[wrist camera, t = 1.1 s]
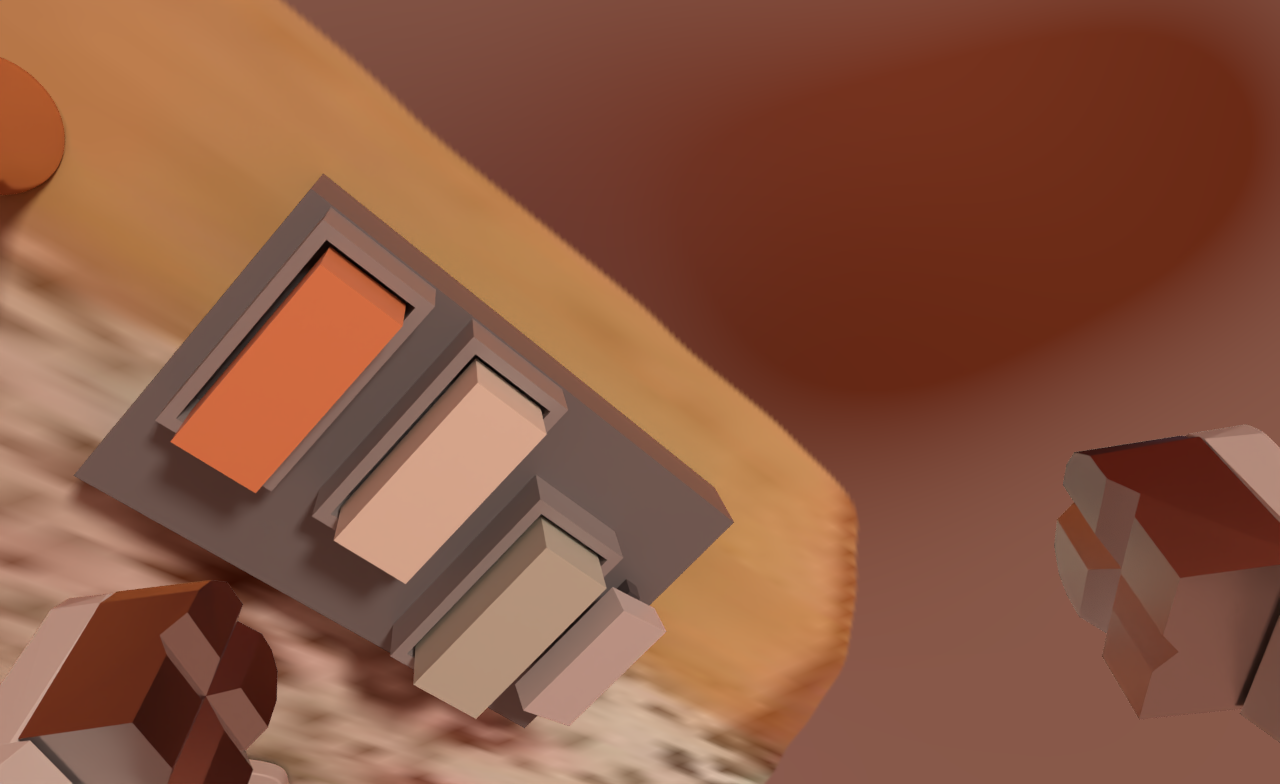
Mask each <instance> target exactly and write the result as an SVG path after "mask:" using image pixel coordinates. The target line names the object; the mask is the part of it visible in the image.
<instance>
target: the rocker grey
mask: <svg viewBox="0 0 1280 784" xmlns="http://www.w3.org/2000/svg"><path fill="white" fill-rule="evenodd" d="M665 632H666V630H665V628H664V626H663V624H662V622H661V620H660V618H659V616H658V614H657V613H656V611H655V609H654V608H653V607H651V606H649V605H647V604H645V603H643V602H641V601H639V600H637V599H635V598H633V597H631V596H629V595H627V594H625V593H623V592H622V591H620V590H618V589H616V588H614V587H612V588H611V589H610V590H609V591H608V592H607V593H606V594H605V595H604V596H603V597H602V598H601V599H600V600H599V601H598V602H597V603H596V604H595V605H594V606H593V607H592V608H591V609H590V610H589V611H588V612H587V613H586V614H585V615H584V616H583V617H582V618H581V619H580V620H579V621H578V622H577V623H576V624H575V625H574V626H573V627H572V628H571V629H570V630H569V631H568V632H567V633H566V634H565V635H564V636H563V637H562V638H561V639H560V640H559V641H558V642H557V643H556V644H555V645H554V646H553V647H552V648H551V649H550V650H549V651H548V652H547V653H546V654H545V655H544V656H543V657H542V658H541V659H540V660H539V661H538V662H537V663H536V664H535V665H534V666H533V667H532V668H531V669H530V670H529V671H528V672H527V673H526V674H525V675H524V676H523V677H522V678H521V679H520V680H519V681H518V682H517V683H516V684H515V686H516V689H517V692H518V695H519V699H520V702H521V705H522V708H523V711H526V712H529V713H532V714H535V715H538V716H541V717H544V718H547V719H550V720H553V721H556V722H559V723H562V724H564V725H567V726H570V725H571V724H572V723H573V722H574V721H575V720H576V719H577V718H578V717H579V716H580V715H581V714H582V713H583V712H584V711H585V710H586V709H587V708H588V707H589V706H590V705H591V704H592V703H593V702H594V701H595V700H596V699H597V698H598V697H599V696H601V695H602V694H603V693H604V692H605V691H606V690H607V689H608V688H609V687H610V686H611V685H612V684H613V683H614V682H615V681H616V680H617V679H618V678H619V677H620V676H621V675H622V674H623V673H624V672H625V671H626V670H627V669H628V668H629V667H630V666H631V665H632V664H633V663H634V662H635V661H637V660H638V659H639V658H640V657H641V656H642V655H643V654H644V653H645V652H646V651H647V650H648V649H649V648H650V647H651V646H652V645H653V644H654V643H655V642H656V641H657V640H658V639H659V638H660V637H661V636H662V635H663V634H664V633H665Z"/></svg>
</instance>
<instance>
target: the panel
mask: <svg viewBox="0 0 1280 784" xmlns="http://www.w3.org/2000/svg"><path fill="white" fill-rule="evenodd" d="M329 247H332V248H333V249H334V250H335V251H337V252H338V253H339V254H341V255H342V256H343V257H345V258H346V259H347V260H348V261H350V262H351V263H352V264H354V265H355V266H356V267H358V268H359V269H360V270H362V271H363V272H364V273H365V274H367V275H368V276H369V277H371V278H372V279H373V280H375V281H376V282H377V283H379V284H380V285H381V286H382V287H384V288H385V289H386V290H388V291H389V292H390V293H392V294H393V295H394V296H396V297H397V298H398V299H399V300H401V301H402V302H403V303H405V304H406V308H405V314H404V321H403V326H402V327H401V329H400V330H399V331H398V332H397V333H396V334H395V335H394V337H393V338H392V339H391V340H390V341H389V342H388V343H387V345H386V346H385V347H384V348H383V349H382V350H381V351H380V352H379V354H378V355H377V356H376V357H375V358H374V359H373V360H372V362H371V363H370V364H369V365H368V366H367V367H366V368H365V370H364V371H363V372H362V373H361V374H360V375H359V376H358V377H357V379H356V380H355V381H354V382H353V383H352V384H351V385H350V387H349V388H348V389H347V390H346V391H345V392H344V393H343V395H342V396H341V397H340V398H339V399H338V400H337V401H336V402H335V404H334V405H333V406H332V407H331V408H330V409H329V410H328V412H327V413H326V414H325V415H324V416H323V417H322V418H321V420H320V421H319V422H318V423H317V424H316V425H315V426H314V427H313V429H312V430H311V431H310V432H309V433H308V434H307V435H306V437H305V438H304V439H303V440H302V441H301V442H300V443H299V445H298V446H297V447H296V448H295V449H294V450H293V451H292V452H291V454H290V455H289V456H288V457H287V458H286V459H285V460H284V462H283V463H282V464H281V465H280V466H279V467H278V468H277V470H276V471H275V472H274V473H273V474H272V475H271V476H270V477H269V479H268V480H267V481H266V482H265V483H264V484H263V485H262V487H261V488H260V489H259V490H258V491H257V492H256V493H254V492H252V491H251V490H249V489H248V488H246V487H244V486H243V485H241V484H239V483H238V482H236V481H234V480H233V479H231V478H229V477H228V476H226V475H224V474H223V473H221V472H219V471H218V470H216V469H214V468H213V467H211V466H209V465H208V464H206V463H205V462H203V461H201V460H200V459H198V458H196V457H195V456H193V455H191V454H190V453H188V452H186V451H185V450H183V449H181V448H180V447H178V446H176V445H175V444H173V443H171V440H172V439H173V437H174V435H175V434H176V432H177V431H178V429H179V428H180V426H181V425H182V423H183V422H184V420H185V419H186V417H187V416H188V414H189V413H190V411H191V410H192V409H193V408H194V407H195V406H196V404H197V403H198V402H199V401H200V400H201V398H202V397H203V396H204V395H205V394H206V393H207V391H208V390H209V389H210V388H211V387H212V385H213V384H214V383H215V382H216V381H217V379H218V378H219V377H220V376H221V375H222V374H223V372H224V371H225V370H226V369H227V368H228V366H229V365H230V364H231V363H232V362H233V361H234V359H235V358H236V357H237V356H238V355H239V353H240V352H241V351H242V350H243V349H244V347H245V346H246V345H247V344H248V343H249V342H250V340H251V339H252V338H253V337H254V336H255V334H256V333H257V332H258V331H259V330H260V329H261V327H262V326H263V325H264V324H265V323H266V321H267V320H268V319H269V318H270V317H271V315H272V314H273V313H274V312H275V311H276V310H277V308H278V307H279V306H280V305H281V304H282V302H283V301H284V300H285V299H286V298H287V297H288V295H289V294H290V293H291V292H292V291H293V289H294V288H295V287H296V286H297V285H298V284H299V282H300V281H301V280H302V279H303V278H304V276H305V275H306V274H307V273H308V272H309V270H310V269H311V268H312V267H313V266H314V265H315V263H316V262H317V261H318V260H319V259H320V257H321V256H322V255H323V254H324V253H325V252H326V250H327V249H328V248H329ZM475 359H478V360H479V361H480V362H482V363H483V364H484V365H486V366H487V367H488V368H490V369H491V370H492V371H493V372H495V373H496V374H497V375H499V376H500V377H501V378H503V379H504V380H505V381H507V382H508V383H509V384H510V385H512V386H513V387H514V388H516V389H517V390H518V391H520V392H521V393H522V394H523V395H525V396H526V397H527V398H529V399H530V400H531V401H533V402H534V403H535V404H537V405H538V406H539V407H540V408H541V412H542V416H543V421H544V425H545V429H546V434H547V435H546V436H545V437H544V438H543V439H542V440H541V441H540V442H539V443H538V444H537V445H536V446H535V447H534V448H533V450H532V451H531V452H530V453H529V454H528V455H527V456H526V457H525V458H524V459H523V460H522V461H521V462H520V463H519V464H518V465H517V466H516V468H515V469H514V470H513V471H512V472H511V473H510V474H509V475H508V476H507V477H506V478H505V479H504V480H503V481H502V482H501V483H500V485H499V486H498V487H497V488H496V489H495V490H494V491H493V492H492V493H491V494H490V495H489V496H488V497H487V498H486V499H485V500H484V501H483V503H482V504H481V505H480V506H479V507H478V508H477V509H476V510H475V511H474V512H473V513H472V514H471V515H470V516H469V517H468V518H467V519H466V521H465V522H464V523H463V524H462V525H461V526H460V527H459V528H458V529H457V530H456V531H455V532H454V533H453V534H452V535H451V536H450V538H449V539H448V540H447V541H446V542H445V543H444V544H443V545H442V546H441V547H440V548H439V549H438V550H437V551H436V552H435V553H434V554H433V556H432V557H431V558H430V559H429V560H428V561H427V562H426V563H425V564H424V565H423V566H422V567H421V568H420V569H419V570H418V571H417V572H416V574H415V575H414V576H413V577H412V578H411V579H410V580H409V581H408V582H407V583H406V584H405V583H403V582H401V581H400V580H398V579H396V578H395V577H393V576H391V575H390V574H388V573H386V572H385V571H383V570H382V569H380V568H378V567H377V566H375V565H373V564H372V563H370V562H368V561H367V560H365V559H363V558H362V557H360V556H358V555H357V554H355V553H353V552H352V551H350V550H348V549H347V548H345V547H343V546H342V545H340V544H339V543H337V542H335V541H334V537H335V532H336V528H337V523H338V519H339V515H340V510H341V507H342V505H343V504H344V503H345V502H346V501H347V500H348V499H349V498H350V497H351V495H352V494H353V493H354V492H355V491H356V490H357V489H358V488H359V487H360V486H361V484H362V483H363V482H364V481H365V480H366V479H367V478H368V477H369V476H370V475H371V473H372V472H373V471H374V470H375V469H376V468H377V467H378V466H379V465H380V463H381V462H382V461H383V460H384V459H385V458H386V457H387V456H388V455H389V454H390V452H391V451H392V450H393V449H394V448H395V447H396V446H397V445H398V444H399V443H400V441H401V440H402V439H403V438H404V437H405V436H406V435H407V434H408V433H409V431H410V430H411V429H412V428H413V427H414V426H415V425H416V424H417V423H418V422H419V420H420V419H421V418H422V417H423V416H424V415H425V414H426V413H427V412H428V411H429V409H430V408H431V407H432V406H433V405H434V404H435V403H436V402H437V401H438V399H439V398H440V397H441V396H442V395H443V394H444V393H445V392H446V391H447V390H448V388H449V387H450V386H451V385H452V384H453V383H454V382H455V381H456V380H457V379H458V377H459V376H460V375H461V374H462V373H463V372H464V371H465V370H466V369H467V367H468V366H469V365H470V364H471V363H472V362H473V361H474V360H475ZM74 476H75V477H77V478H79V479H80V480H82V481H84V482H86V483H88V484H89V485H91V486H93V487H95V488H97V489H98V490H100V491H102V492H104V493H105V494H107V495H109V496H111V497H113V498H114V499H116V500H118V501H120V502H122V503H123V504H125V505H127V506H129V507H131V508H132V509H134V510H136V511H138V512H139V513H141V514H143V515H145V516H147V517H148V518H150V519H152V520H154V521H156V522H157V523H159V524H161V525H163V526H164V527H166V528H168V529H170V530H172V531H173V532H175V533H177V534H179V535H181V536H182V537H184V538H186V539H188V540H189V541H191V542H193V543H195V544H197V545H198V546H200V547H202V548H204V549H206V550H207V551H209V552H211V553H213V554H214V555H216V556H218V557H220V558H222V559H223V560H225V561H227V562H229V563H231V564H232V565H234V566H236V567H238V568H239V569H241V570H243V571H245V572H247V573H248V574H250V575H252V576H254V577H256V578H257V579H259V580H261V581H263V582H264V583H266V584H268V585H270V586H272V587H273V588H275V589H277V590H279V591H281V592H282V593H284V594H286V595H288V596H289V597H291V598H293V599H295V600H297V601H298V602H300V603H302V604H304V605H306V606H307V607H309V608H311V609H313V610H315V611H316V612H318V613H320V614H322V615H323V616H325V617H327V618H329V619H331V620H332V621H334V622H336V623H338V624H340V625H341V626H343V627H345V628H347V629H348V630H350V631H352V632H354V633H356V634H357V635H359V636H361V637H363V638H365V639H366V640H368V641H370V642H372V643H373V644H375V645H377V646H379V647H381V648H382V649H384V650H386V651H388V652H390V657H392V658H394V659H396V660H398V661H399V662H401V663H403V664H405V665H407V666H408V667H410V668H412V669H414V663H415V646H416V644H417V643H418V642H419V641H420V640H421V639H422V638H423V637H424V636H425V635H426V634H427V633H428V632H429V631H430V630H431V629H432V628H433V627H434V626H435V625H436V624H437V623H438V621H439V620H440V619H441V618H442V617H443V616H444V615H445V614H446V613H447V612H448V611H449V610H450V609H451V608H452V607H453V606H454V605H455V604H456V603H457V602H458V601H459V600H460V599H461V598H462V597H463V595H464V594H465V593H466V592H467V591H468V590H469V589H470V588H471V587H472V586H473V585H474V584H475V583H476V582H477V581H478V580H479V579H480V578H481V577H482V576H483V575H484V574H485V573H486V572H487V571H488V570H489V568H490V567H491V566H492V565H493V564H494V563H495V562H496V561H497V560H498V559H499V558H500V557H501V556H502V555H503V554H504V553H505V552H506V551H507V550H508V549H509V548H510V547H511V546H512V545H513V544H514V542H515V541H516V540H517V539H518V538H519V537H520V536H521V535H522V534H523V533H524V532H525V531H526V530H527V529H528V528H529V527H530V526H531V525H532V524H533V523H534V522H535V521H536V520H537V519H538V518H539V517H540V515H541V516H543V517H544V518H546V519H547V520H549V521H550V522H551V523H553V524H554V525H556V526H557V527H559V528H560V529H561V530H563V531H564V532H566V533H567V534H569V535H570V536H571V537H573V538H574V539H576V540H577V541H579V542H580V543H581V544H583V545H584V546H586V547H587V548H589V549H590V550H591V551H593V552H594V553H596V554H597V555H598V558H599V562H600V566H601V569H602V573H603V577H604V581H605V584H606V589H605V590H604V591H603V592H602V593H601V594H600V595H599V596H598V597H597V598H596V599H595V600H594V601H593V602H592V603H591V604H590V605H589V606H588V607H587V608H586V609H585V610H584V611H583V612H582V613H581V614H580V615H579V616H578V617H577V618H576V619H575V620H574V621H573V622H572V623H571V624H570V625H569V626H568V627H567V628H566V629H565V630H564V631H563V632H562V633H561V634H560V635H559V636H558V637H557V638H556V639H555V640H554V641H553V642H552V643H551V644H550V645H549V646H548V647H547V648H546V649H545V650H544V652H543V653H542V654H541V655H540V656H539V657H538V658H537V659H536V660H535V661H534V662H533V663H532V664H531V665H530V666H529V667H528V668H527V669H526V670H525V671H524V672H523V673H522V674H521V675H520V676H519V677H518V678H517V679H516V680H515V681H514V682H513V683H512V684H511V685H510V686H509V687H508V688H507V689H506V690H505V691H504V692H503V693H502V694H501V695H500V696H499V697H498V698H497V699H496V700H495V701H494V702H493V703H492V704H491V705H490V706H489V707H488V708H490V709H491V710H493V711H495V712H497V713H499V714H500V715H502V716H504V717H506V718H507V719H509V720H511V721H513V722H515V723H516V724H518V725H520V726H522V727H524V728H525V727H526V726H527V725H528V724H529V723H530V722H531V721H532V720H533V719H534V718H535V717H536V716H538V715H535V714H532V713H529V712H526V711H523V708H522V705H521V702H520V699H519V695H518V692H517V689H516V686H515V684H516V683H517V682H518V681H519V680H520V679H521V678H522V677H523V676H524V675H525V674H526V673H527V672H528V671H529V670H530V669H531V668H532V667H533V666H534V665H535V664H536V663H537V662H538V661H539V660H540V659H541V658H542V657H543V656H544V655H545V654H546V653H547V652H548V651H549V650H550V649H551V648H552V647H553V646H554V645H555V644H556V643H557V642H558V641H559V640H560V639H561V638H562V637H563V636H564V635H565V634H566V633H567V632H568V631H569V630H570V629H571V628H572V627H573V626H574V625H575V624H576V623H577V622H578V621H579V620H580V619H581V618H582V617H583V616H584V615H585V614H586V613H587V612H588V611H589V610H590V609H591V608H592V607H593V606H594V605H595V604H596V603H597V602H598V601H599V600H600V599H601V598H602V597H603V596H604V595H605V594H606V593H607V592H608V591H609V590H610V589H611V588H612V587H614V588H616V589H618V590H620V591H622V592H623V593H625V594H627V595H629V596H631V597H633V598H635V599H637V600H639V601H641V602H643V603H645V604H647V605H650V604H651V603H652V602H653V601H654V600H655V599H656V598H657V597H658V596H659V595H660V594H662V593H663V592H664V591H665V590H666V589H667V588H668V587H669V586H670V585H671V584H672V583H673V582H674V581H675V580H676V579H677V578H678V577H679V576H680V575H681V574H682V573H683V572H684V571H685V570H686V569H687V568H688V567H689V566H690V565H691V564H692V563H693V562H694V561H695V560H696V559H697V558H698V557H699V556H700V555H701V554H702V553H703V552H704V551H705V550H706V549H707V548H708V547H709V546H710V545H711V544H712V543H713V542H714V541H715V540H716V539H717V538H718V537H719V536H720V535H721V534H722V533H723V532H725V531H726V530H727V529H728V528H729V527H730V526H731V525H732V524H733V523H734V522H733V520H732V518H731V516H730V514H729V513H728V511H727V509H726V507H725V505H724V504H723V502H722V500H721V498H720V497H719V495H718V493H717V491H716V489H715V488H714V487H713V486H712V485H711V484H709V483H708V482H707V481H706V480H704V479H703V478H702V477H701V476H699V475H698V474H697V473H696V472H694V471H693V470H692V469H691V468H689V467H688V466H687V465H686V464H684V463H683V462H682V461H681V460H679V459H678V458H677V457H676V456H674V455H673V454H672V453H671V452H669V451H668V450H667V449H666V448H664V447H663V446H662V445H661V444H659V443H658V442H657V441H656V440H654V439H653V438H652V437H651V436H649V435H648V434H647V433H646V432H645V431H643V430H642V429H641V428H640V427H638V426H637V425H636V424H635V423H633V422H632V421H631V420H630V419H628V418H627V417H626V416H625V415H623V414H622V413H621V412H620V411H618V410H617V409H616V408H615V407H613V406H612V405H611V404H610V403H608V402H607V401H606V400H605V399H603V398H602V397H601V396H600V395H598V394H597V393H596V392H595V391H593V390H592V389H591V388H590V387H588V386H587V385H586V384H585V383H583V382H582V381H581V380H580V379H579V378H577V377H576V376H575V375H574V374H572V373H571V372H570V371H569V370H567V369H566V368H565V367H564V366H562V365H561V364H560V363H559V362H557V361H556V360H555V359H554V358H552V357H551V356H550V355H549V354H547V353H546V352H545V351H544V350H542V349H541V348H540V347H539V346H537V345H536V344H535V343H534V342H532V341H531V340H530V339H529V338H527V337H526V336H525V335H524V334H522V333H521V332H520V331H519V330H517V329H516V328H515V327H514V326H512V325H511V324H510V323H509V322H508V321H506V320H505V319H504V318H503V317H501V316H500V315H499V314H498V313H496V312H495V311H494V310H493V309H491V308H490V307H489V306H488V305H486V304H485V303H484V302H483V301H481V300H480V299H479V298H478V297H476V296H475V295H474V294H473V293H471V292H470V291H469V290H468V289H466V288H465V287H464V286H463V285H461V284H460V283H459V282H458V281H456V280H455V279H454V278H453V277H451V276H450V275H449V274H448V273H446V272H445V271H444V270H443V269H441V268H440V267H439V266H438V265H437V264H435V263H434V262H433V261H432V260H430V259H429V258H428V257H427V256H425V255H424V254H423V253H422V252H420V251H419V250H418V249H417V248H415V247H414V246H413V245H412V244H410V243H409V242H408V241H407V240H405V239H404V238H403V237H402V236H400V235H399V234H398V233H397V232H395V231H394V230H393V229H392V228H390V227H389V226H388V225H387V224H385V223H384V222H383V221H382V220H380V219H379V218H378V217H377V216H375V215H374V214H373V213H372V212H371V211H369V210H368V209H367V208H366V207H364V206H363V205H362V204H361V203H359V202H358V201H357V200H356V199H354V198H353V197H352V196H351V195H349V194H348V193H347V192H346V191H344V190H343V189H342V188H341V187H339V186H338V185H337V184H336V183H334V182H333V181H332V180H331V179H329V178H328V177H327V176H326V175H324V174H323V175H322V176H321V177H320V178H319V179H318V181H317V182H316V183H315V184H314V185H313V187H312V188H311V189H310V190H309V192H308V193H307V194H306V195H305V196H304V198H303V199H302V200H301V201H300V202H299V204H298V205H297V206H296V207H295V208H294V210H293V211H292V212H291V213H290V214H289V216H288V217H287V218H286V219H285V221H284V222H283V223H282V224H281V225H280V227H279V228H278V229H277V230H276V231H275V233H274V234H273V235H272V236H271V237H270V239H269V240H268V241H267V242H266V243H265V245H264V246H263V247H262V248H261V250H260V251H259V252H258V253H257V254H256V256H255V257H254V258H253V259H252V260H251V262H250V263H249V264H248V265H247V266H246V268H245V269H244V270H243V271H242V273H241V274H240V275H239V276H238V277H237V279H236V280H235V281H234V282H233V283H232V285H231V286H230V287H229V288H228V289H227V291H226V292H225V293H224V294H223V295H222V297H221V298H220V299H219V300H218V302H217V303H216V304H215V305H214V306H213V308H212V309H211V310H210V311H209V312H208V314H207V315H206V316H205V317H204V318H203V320H202V321H201V322H200V323H199V324H198V326H197V327H196V328H195V329H194V331H193V332H192V333H191V334H190V335H189V337H188V338H187V339H186V340H185V341H184V343H183V344H182V345H181V346H180V347H179V349H178V350H177V351H176V352H175V353H174V355H173V356H172V357H171V358H170V360H169V361H168V362H167V363H166V364H165V366H164V367H163V368H162V369H161V370H160V372H159V373H158V374H157V375H156V376H155V378H154V379H153V380H152V381H151V383H150V384H149V385H148V386H147V387H146V389H145V390H144V391H143V392H142V393H141V395H140V396H139V397H138V398H137V399H136V401H135V402H134V403H133V404H132V405H131V407H130V408H129V409H128V410H127V412H126V413H125V414H124V415H123V416H122V418H121V419H120V420H119V421H118V422H117V424H116V425H115V426H114V427H113V428H112V430H111V431H110V432H109V433H108V434H107V436H106V437H105V438H104V439H103V441H102V442H101V443H100V444H99V445H98V447H97V448H96V449H95V450H94V451H93V453H92V454H91V455H90V456H89V458H88V459H87V460H86V461H85V462H84V464H83V465H82V466H81V467H80V468H79V470H78V471H77V472H76V473H75V475H74Z"/></svg>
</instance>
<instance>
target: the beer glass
mask: <svg viewBox="0 0 1280 784" xmlns="http://www.w3.org/2000/svg"><path fill="white" fill-rule="evenodd" d="M64 147H65V132H64V126H63V122H62V118H61V115H60V113H59V110H58V108H57V106H56V104H55V103H54V101H53V99H52V98H51V96H50V95H49V93H48V92H47V91H46V90H45V88H44V87H43V86H42V85H41V84H40V83H39V82H38V81H37V80H36V79H35V78H34V77H33V76H32V75H30V74H29V73H28V72H26V71H25V70H24V69H22V68H21V67H19V66H18V65H16V64H14V63H12V62H10V61H8V60H6V59H4V58H1V57H0V195H13V194H19V193H23V192H26V191H29V190H32V189H34V188H36V187H38V186H39V185H41V184H42V183H44V182H45V181H46V180H47V179H49V178H50V177H51V175H52V174H53V173H54V172H55V170H56V169H57V167H58V166H59V164H60V161H61V159H62V156H63V152H64Z"/></svg>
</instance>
